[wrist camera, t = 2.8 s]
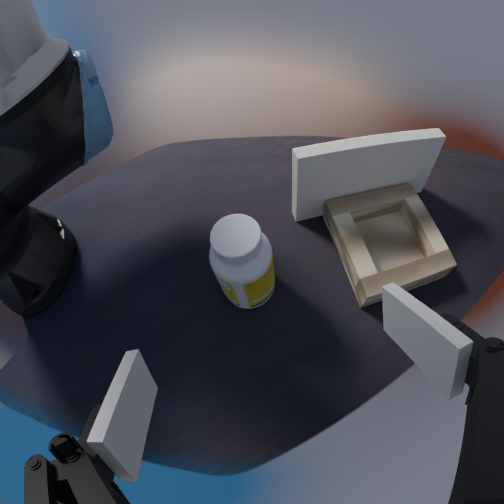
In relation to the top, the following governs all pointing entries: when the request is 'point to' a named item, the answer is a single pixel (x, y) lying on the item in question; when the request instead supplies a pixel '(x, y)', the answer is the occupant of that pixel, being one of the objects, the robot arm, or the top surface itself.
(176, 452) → the top surface
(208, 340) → the top surface
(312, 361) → the top surface
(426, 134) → the white backstop wall
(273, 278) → the supplement bottle
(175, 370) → the top surface
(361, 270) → the birch socket block
